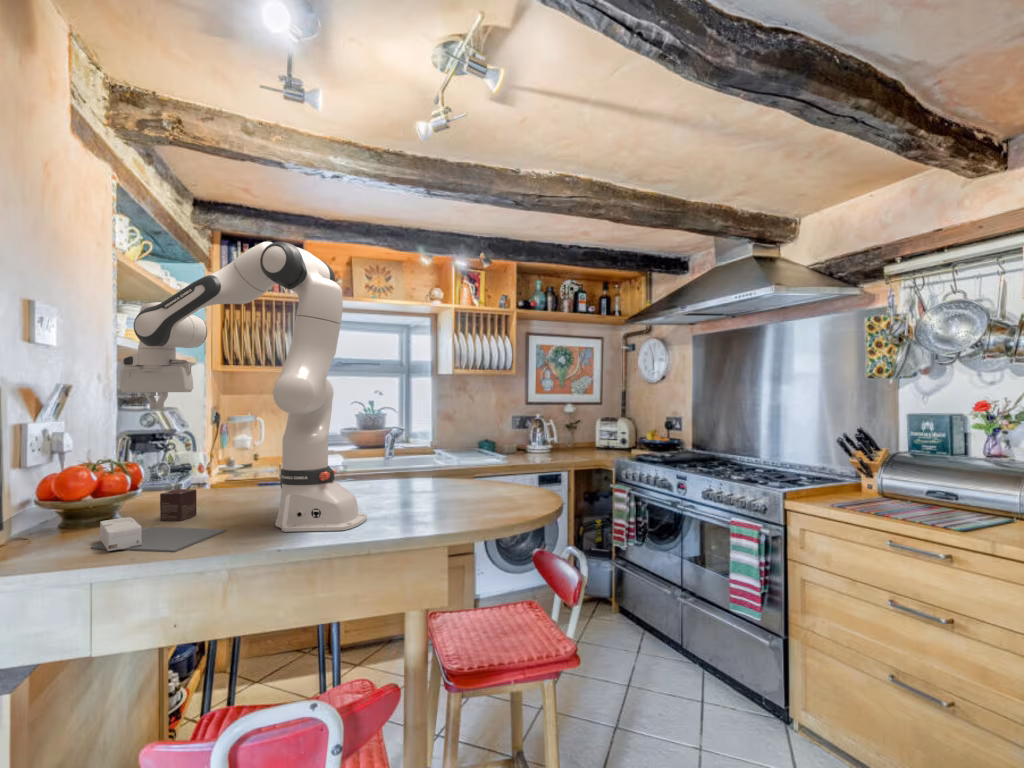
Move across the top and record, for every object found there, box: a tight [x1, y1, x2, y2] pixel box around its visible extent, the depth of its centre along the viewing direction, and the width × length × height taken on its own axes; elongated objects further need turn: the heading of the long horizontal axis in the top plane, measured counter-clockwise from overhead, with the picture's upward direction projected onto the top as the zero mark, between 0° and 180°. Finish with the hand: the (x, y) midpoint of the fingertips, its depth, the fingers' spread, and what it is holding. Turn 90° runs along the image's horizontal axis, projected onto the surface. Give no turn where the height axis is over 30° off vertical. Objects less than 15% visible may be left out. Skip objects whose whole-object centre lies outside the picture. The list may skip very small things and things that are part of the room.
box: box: [159, 488, 198, 522], centre depth 136 cm, size 6×6×7 cm
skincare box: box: [99, 516, 143, 552], centre depth 113 cm, size 6×4×12 cm
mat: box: [90, 526, 227, 553], centre depth 117 cm, size 20×16×1 cm
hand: (156, 408), depth 144 cm, fingers closed
